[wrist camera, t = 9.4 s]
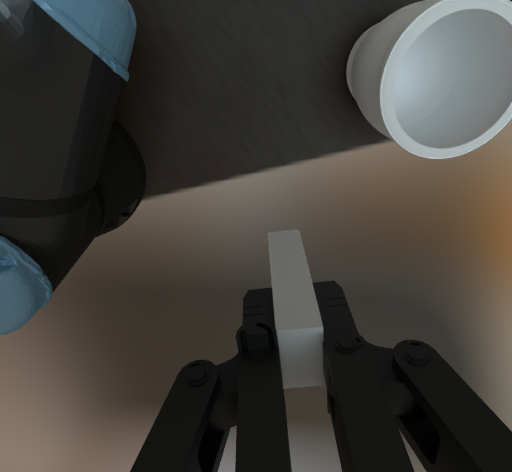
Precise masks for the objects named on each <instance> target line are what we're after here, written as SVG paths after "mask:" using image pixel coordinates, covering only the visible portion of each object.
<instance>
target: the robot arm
mask: <svg viewBox="0 0 512 472" xmlns="http://www.w3.org/2000/svg"><path fill="white" fill-rule="evenodd" d="M136 27H137V23H136V17H135V13H134V11H133V9H132V6H131V4H130V3H129V1H128V0H0V335H3V334H8V333H11V332H13V331H15V330H17V329H19V328H21V327H22V326H24V325H25V324H26V323H27V322H28V321H29V320H30V319H31V318H32V317H33V316H34V315H35V313H37V312H38V310H39V309H41V308H43V307H44V306H46V305H47V304H48V302H49V301H50V299H51V298H52V294H53V292H54V291H55V289H56V288H57V287H58V285H59V284H60V283H61V281H62V280H63V279H64V278H65V276H66V275H67V274H68V272H69V271H70V270H71V268H72V267H73V266H74V264H75V263H76V262H77V261H78V259H79V258H80V256H81V255H82V254H83V253H84V251H85V250H86V249H87V247H88V246H89V245H90V243H91V242H92V241H93V239H94V238H95V237H98V236H100V235H103V234H105V233H107V232H110V231H112V230H114V229H116V228H118V227H119V226H121V225H122V224H123V223H125V222H126V221H127V220H128V219H129V218H130V217H131V216H132V214H133V213H134V211H135V210H136V208H137V207H138V205H139V204H140V202H141V200H142V197H143V195H144V191H145V185H146V173H145V167H144V163H143V159H142V157H141V154H140V152H139V150H138V148H137V146H136V144H135V143H134V141H133V140H132V138H131V137H130V136H129V134H128V133H127V132H126V131H125V130H124V129H123V128H122V127H121V126H120V125H119V124H118V123H117V122H115V121H114V117H115V113H116V110H117V106H118V102H119V99H120V95H121V92H122V88H123V84H124V81H127V82H128V80H129V73H128V66H129V61H130V57H131V53H132V48H133V44H134V40H135V35H136ZM268 245H269V257H270V267H271V268H270V269H271V280H272V288H264V289H254V290H248V292H247V294H246V295H245V297H244V298H243V325H242V326H241V327H240V328H239V329H238V331H237V334H236V340H237V346H238V351H239V352H238V353H237V355H236V356H235V357H233V358H232V359H231V360H228V361H226V362H224V363H221V364H219V365H214V364H213V363H212V362H210V361H207V360H197V361H193V362H191V363H189V364H187V365H186V366H185V367H183V368H182V370H181V371H180V372H179V374H178V375H177V378H176V380H175V382H174V384H173V386H172V388H171V390H170V392H169V394H168V396H167V398H166V400H165V402H164V404H163V406H162V408H161V410H160V412H159V414H158V416H157V418H156V420H155V422H154V424H153V426H152V428H151V430H150V432H149V434H148V436H147V438H146V440H145V443H144V444H143V446H142V449H141V451H140V452H139V455H138V457H137V459H136V461H135V463H134V465H133V467H132V469H131V471H130V472H217V471H218V468H219V465H220V461H221V458H222V455H223V451H224V448H225V445H226V441H227V438H228V435H229V431H230V428H231V427H233V426H236V425H237V438H236V467H235V468H236V469H235V472H292V470H291V460H290V450H289V439H288V429H287V418H286V408H285V398H284V388H296V387H307V386H319V385H325V382H326V386H327V403H328V405H327V406H328V413H330V415H331V419H332V424H333V429H334V434H335V439H336V443H337V448H338V453H339V458H340V463H341V468H342V472H414V469H413V467H412V464H411V461H410V459H409V456H408V453H407V450H406V448H405V445H404V442H403V440H402V437H401V435H400V432H399V430H400V431H401V433H402V434H403V436H404V437H405V439H406V440H407V442H408V443H409V445H410V447H411V448H412V450H413V451H414V453H415V454H416V456H417V457H418V459H419V460H420V462H421V463H422V465H423V467H424V468H425V470H426V471H427V472H512V432H511V431H510V430H509V428H508V427H507V426H506V425H505V424H504V423H503V422H502V421H501V420H500V419H499V418H498V417H497V416H496V414H495V413H494V412H493V411H492V410H491V409H490V408H489V407H488V406H487V405H486V404H485V403H484V402H483V401H482V399H481V398H480V397H478V395H477V394H476V393H475V392H474V391H473V390H472V389H471V388H470V387H469V386H468V385H467V383H465V381H464V380H463V379H462V378H461V377H460V376H459V375H458V374H457V373H456V372H455V371H454V370H453V369H452V367H451V366H450V365H449V364H448V363H447V362H446V361H445V360H444V359H443V358H442V357H441V356H440V355H439V354H438V353H437V351H436V350H435V349H433V348H432V347H431V346H429V345H428V344H426V343H423V342H421V341H417V340H404V341H402V342H400V343H398V344H397V345H396V346H395V347H394V349H390V348H384V347H379V346H375V345H373V344H370V343H368V342H367V341H365V340H364V338H363V337H362V336H360V335H359V333H358V331H357V328H356V326H355V323H354V320H353V317H352V314H351V312H350V309H349V306H348V303H347V300H346V298H345V295H344V292H343V289H342V288H341V287H340V286H339V285H338V284H337V283H336V282H335V281H326V282H317V283H312V280H311V276H310V272H309V268H308V263H307V260H306V255H305V251H304V248H303V243H302V240H301V235H300V231H299V229H298V230H287V231H278V232H268ZM398 428H399V429H398Z"/></svg>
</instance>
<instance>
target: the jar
mask: <svg viewBox="0 0 512 472" xmlns="http://www.w3.org/2000/svg"><path fill="white" fill-rule="evenodd" d="M346 78H347V84H348V87H349V90H350V92H351V94H352V96H353V97H354V98H355V100H356V102H357V104H358V106H359V108H360V110H361V112H362V114H363V115H364V117H365V118H366V119H367V120H368V122H369V123H370V124H371V125H372V126H373V127H374V128H375V129H377V130H378V131H379V132H380V133H382V134H383V135H385V136H387V137H389V138H391V139H393V141H394V142H395V143H397V144H398V145H399V146H400V147H402V148H403V149H404V150H406V151H408V152H410V153H412V154H415V155H417V156H421V157H425V158H432V159H444V158H450V157H456V156H459V155H462V154H465V153H468V152H470V151H472V150H474V149H476V148H478V147H480V146H481V145H483V144H484V143H486V142H487V141H489V140H490V139H491V138H492V137H494V136H495V135H496V134H497V133H498V132H499V131H500V130H501V129H502V128H503V127H504V126H505V125H506V124H507V123H508V122H509V121H510V119H511V118H512V2H511V1H510V0H424V1H420V2H416V3H413V4H410V5H408V6H405V7H403V8H401V9H399V10H397V11H395V12H394V13H392V14H391V15H389V16H388V17H386V18H385V19H384V20H382V21H381V22H380V23H377V24H375V25H373V26H372V27H370V28H369V29H368V30H366V31H365V32H364V33H363V34H362V35H361V36H360V37H359V39H358V40H357V41H356V43H355V44H354V46H353V48H352V50H351V52H350V55H349V58H348V62H347V68H346Z"/></svg>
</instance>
